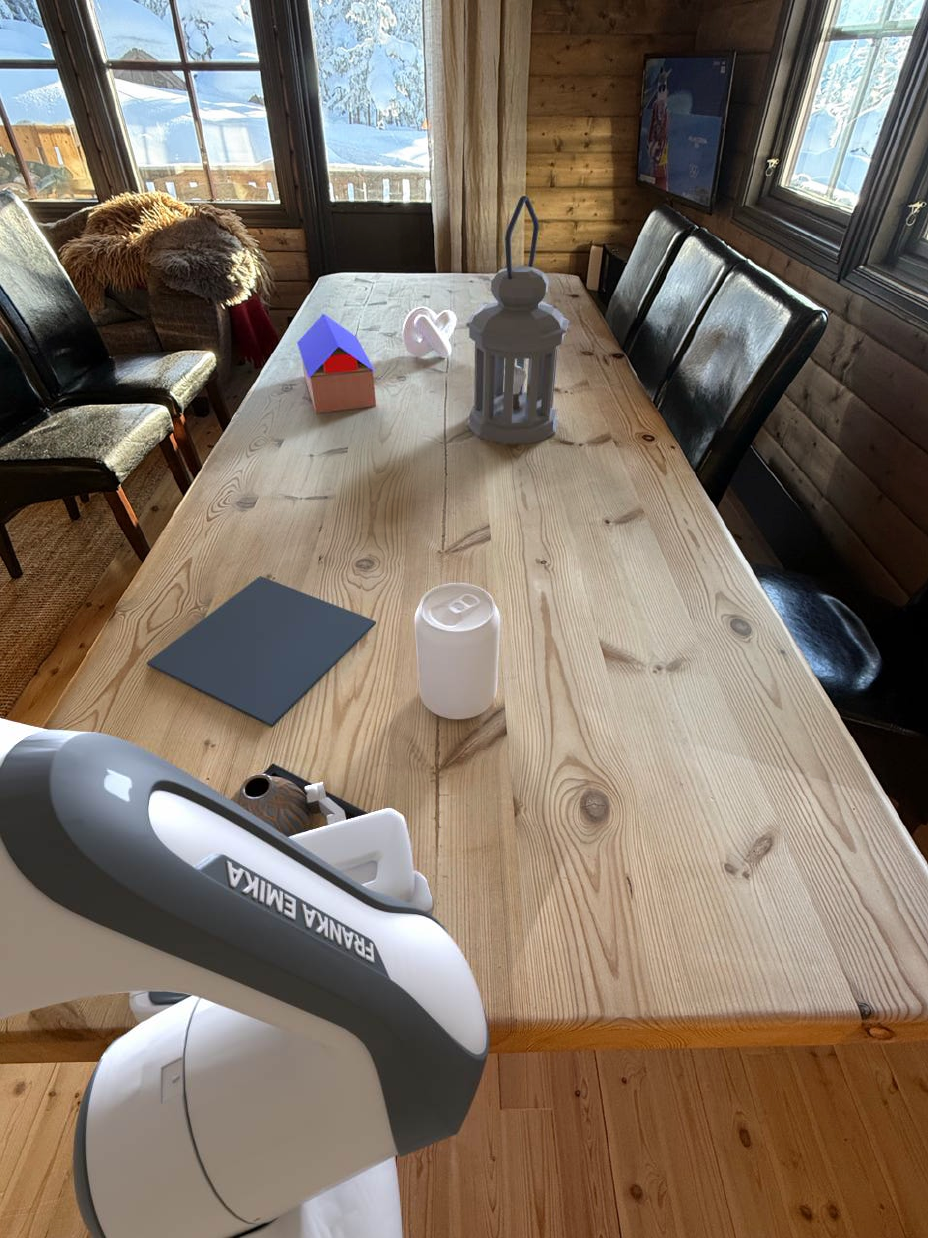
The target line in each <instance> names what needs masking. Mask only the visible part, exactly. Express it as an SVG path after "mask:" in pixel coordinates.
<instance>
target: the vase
mask: <svg viewBox="0 0 928 1238" xmlns="http://www.w3.org/2000/svg"><path fill="white" fill-rule="evenodd" d="M230 800H231V801H233V802H234V803H236V804H238V805H239V806H241V807H242V808H244V809H245V810H247V811H248V812H250V813H251V814H253V815H255V816H256V817H258V818H259V819H261V820H262V821H264V822H265V823H267V824H268V825H270V826H271V827H273V828H274V829H276V830H278V831H279V832H281V833H282V834H284V835H285V836H287V837H290V836H293V835H297V834H300V833H304V832H307V831H311V830H314V829H316V828H315V824H316V823H315V814H314V815H311V813H310V809H309V806H308V801H307V797H306V795H305V794H304V793H303V791H302V790H301V789H300V788H299V787H298V786H296V785H295V784H294V783H292V782H290V781H289V780H286V779H284V778H280V777H273V776H268V775H265V774H263V773H256V774H252V775H250V776H248V777H247V778H246V779H245V780H244V781H243V783H242V784H241V786H240V788H238V790H236V791H235V793H234V794H233V796H232V797H231V798H230Z"/></svg>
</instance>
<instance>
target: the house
mask: <svg viewBox="0 0 928 1238" xmlns="http://www.w3.org/2000/svg"><path fill="white" fill-rule="evenodd" d="M296 343H297V347H298V350H299V353H300V358H301V364H302V371H303V375H304V377H303V378H304V380H305V383H306V386H307V389H308V392H309V396H310V398H311V402H312V405H313V408H314V412H315V414H322V413H323V414H324V413H330V412H338V411H346V410H355V409H363V408H371V407H376V406H377V400H376V391H375V390H376V389H375V379H374V372H375V371H376V370H375V369H374V367H373V365H372V363H371V361H370V359H369V358H368V356H367V354H366V352H365V349H364V348H363V346H362V344H361V343H360V341H359V339H358V337H357V336H356V335H355V334H353V333H351V331H349V330H348V329H346V328H345V327H343V326H342V325H340V324H339V323H338V322H336V321H335V320H334V319H332V318H331V317H329V316H328V315H327V314H325V313H322V314H321V315H320V316H319V318H318V319H317V320H316V321H315V322H314V323H313V324H312V325H311V326H310V328H309V329H308V330H307V331H306V332H305V333H304V334H303V335H302V336H301V337H300V339H299V340H298V341H297V342H296Z"/></svg>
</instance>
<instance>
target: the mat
mask: <svg viewBox="0 0 928 1238" xmlns="http://www.w3.org/2000/svg"><path fill="white" fill-rule="evenodd" d="M376 624H377V621H376V620H374V619H372V618H369V617H366V616H364V615H360V614H359V613H356V612H354V611H351V610H348V609H346V608H343V607H341V606H338V605H336V604H333V603H331V602H328V601H326V600H323V599H321V598H318V597H316V596H313V595H310V594H307V593H305V592H303V591H300V590H297V589H295V588H292V587H290V586H287V585H285V584H281V583H279V582H278V581H277V582H276V581H274V580H272V579H270V578H266V577H264V576H262V575H259V576H258V577H256V579H254V580H253V581H252V582H250V583H249V584H248V585H246V586H245V587H244V588H242V589H241V590H239V591H238V592H237V593H235V594H234V595H233V596H232V597H230V598H229V599H228V600H227V601H225V602H223V604H221V605H220V606H219V607H217V608H216V609H215V610H214V611H212V612H211V613H209V614H208V615H207V616H205V617H204V618H202V619H201V620H200V621H199V622H198V623H196V624H195V625H194V626H192V627H191V628H190V629H188V630H187V631H186V632H184V633H183V634H182V635H180V636H179V637H178V638H177V639H175V640H174V641H173V642H171V643H170V644H169V645H167V646H166V647H165V648H163V649H162V650H161V651H160V652H158V653H157V654H156V655H154V656H153V657H152V658H151V659H149V660H147V661H146V664H147V666H149V667H151V668H152V669H155V670H157V671H159V672H161V673H163V674H165V675H167V676H169V677H171V678H173V679H175V680H177V681H179V682H181V683H183V684H185V685H187V686H189V687H191V688H193V689H195V690H197V691H199V692H201V693H203V694H205V695H207V696H209V697H211V698H213V699H215V700H217V701H219V702H221V703H223V704H225V705H227V706H229V707H230V708H232V709H235V710H238V711H239V712H241V713H243V714H245V715H247V716H249V717H251V718H253V719H255V720H257V721H259V722H261V723H263V724H265V725H267V726H269V727H271V728H273V727H274V726H275V725H276V724H277V723H278V722H279V721H280V720H281V719H282V718H283V717H284V716H285V715H286V714H287V713H288V712H289V711H291V709H293V707H294V706H295V705H296V704H298V702H299V701H300V700H301V699H302V698H303V697H304V696H305V695H306V694H307V693H309V691H310V690H311V689H312V688H313V687H314V686H315V685H316V684H317V683H318V682H319V681H321V679H322V678H323V677H324V676H325V675H326V674H327V673H328V672H329V671H330V670H332V668H333V667H334V666H335V665H336V664H337V663H339V661H340V660H341V659H342V658H343V657H344V656H345V655H346V654H347V653H348V652H349V651H350V650H351V649H352V648H353V647H354V646H355V645H356V644H357V643H358V642H359V641H361V640H362V638H363V637H364V636H365V635H366V634H367V633H368V632H369V631H370V630H372V629H373V627H374V626H375V625H376Z"/></svg>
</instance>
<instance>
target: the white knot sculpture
mask: <svg viewBox="0 0 928 1238" xmlns="http://www.w3.org/2000/svg"><path fill="white" fill-rule="evenodd" d="M456 325H457V316H456V314H455V312H453V311H451V310H448V309H447V310H443V311H441V312H440V313H439V314H438V315H437V314H436V312H435V311H433V310H432V309H430V308H428V307H426V306H418V307H416V308H414V309H413V310H411V311H410V312H409V313H408V315H407V316H406V318H405V320H404V323H403V326H402V343H403V346H404V348H405V350H406V351H407V353H408V354H409V355H411V356H413V357H416V358H423V357H425V356H427V355H429V354H430V353H431V352H432V351H433V350H434V351H435V353H436V354H437V355H438V356H439V357H440V358H443V359H447V358H448V357H450V355H451V354H452V347H451V343H450V342H449V338H450V337H451V336H452V334H453V333H454V330H455V328H456Z"/></svg>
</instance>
